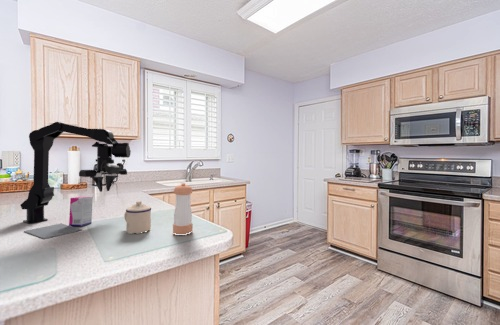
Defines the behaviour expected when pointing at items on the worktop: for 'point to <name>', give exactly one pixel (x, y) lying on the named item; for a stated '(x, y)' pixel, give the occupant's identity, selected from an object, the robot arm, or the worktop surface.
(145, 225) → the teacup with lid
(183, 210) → the pepper shaker
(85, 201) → the supplement box
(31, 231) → the slate mat
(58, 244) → the worktop surface
